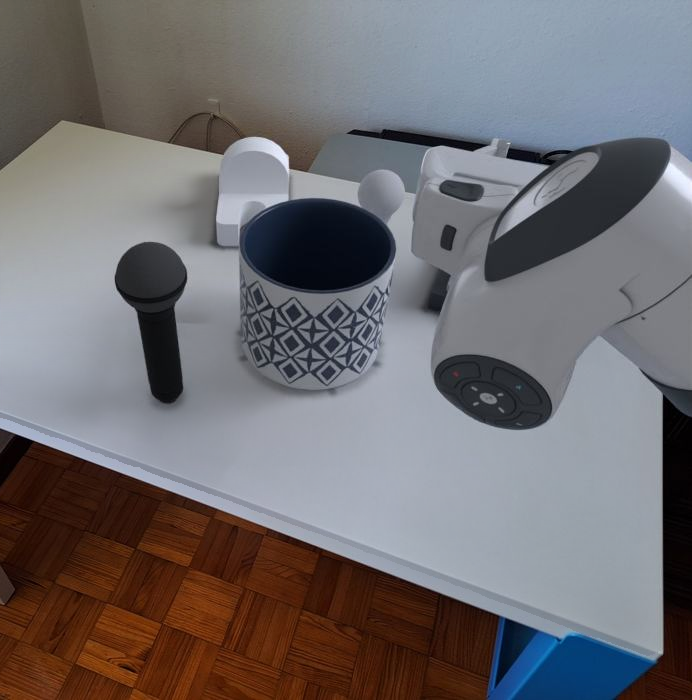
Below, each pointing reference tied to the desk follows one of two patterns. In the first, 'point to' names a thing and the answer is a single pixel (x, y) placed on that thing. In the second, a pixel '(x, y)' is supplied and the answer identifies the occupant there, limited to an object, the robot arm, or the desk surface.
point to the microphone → (155, 311)
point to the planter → (314, 291)
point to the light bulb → (381, 193)
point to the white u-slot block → (249, 184)
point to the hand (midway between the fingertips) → (556, 157)
